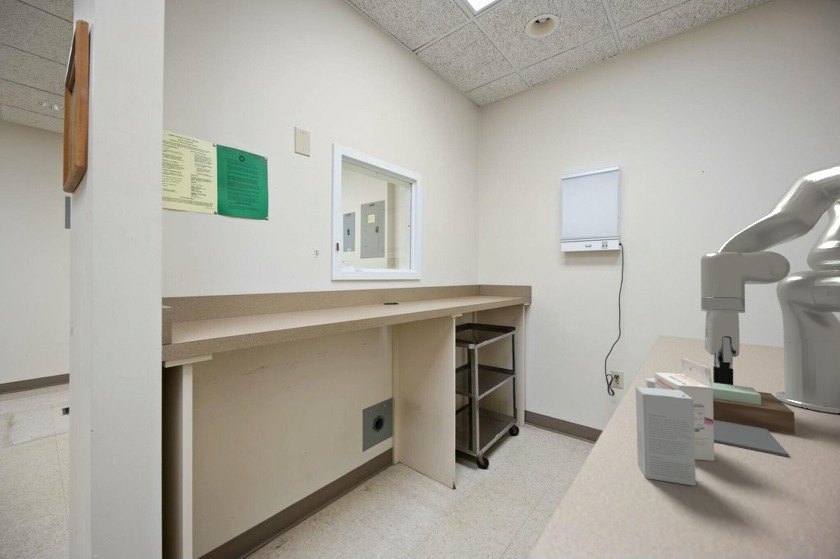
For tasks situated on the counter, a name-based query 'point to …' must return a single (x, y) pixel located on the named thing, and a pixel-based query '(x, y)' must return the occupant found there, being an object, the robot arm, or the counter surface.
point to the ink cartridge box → (695, 403)
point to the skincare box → (665, 435)
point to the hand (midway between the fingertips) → (723, 384)
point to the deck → (756, 413)
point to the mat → (747, 437)
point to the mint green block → (736, 393)
